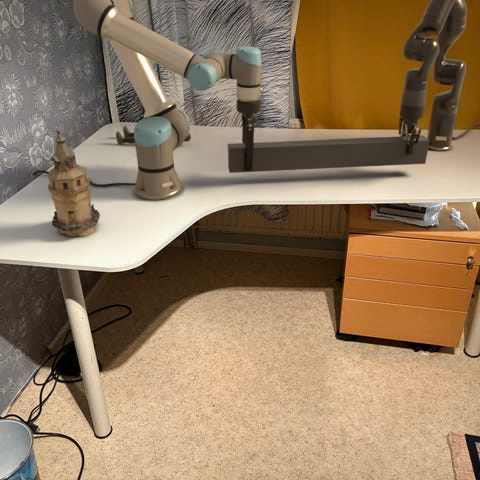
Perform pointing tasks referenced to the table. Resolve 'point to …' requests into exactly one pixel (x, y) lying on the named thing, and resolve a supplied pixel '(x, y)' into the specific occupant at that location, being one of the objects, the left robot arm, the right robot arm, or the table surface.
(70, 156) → the miniature building
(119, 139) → the toy
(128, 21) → the left robot arm
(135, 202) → the table surface
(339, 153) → the post
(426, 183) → the table surface
